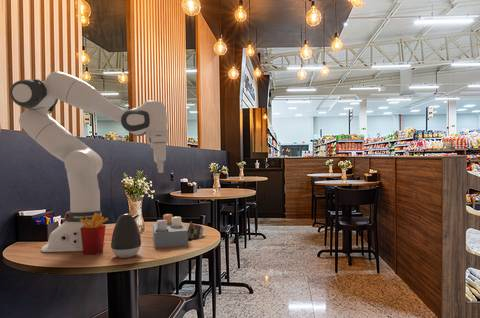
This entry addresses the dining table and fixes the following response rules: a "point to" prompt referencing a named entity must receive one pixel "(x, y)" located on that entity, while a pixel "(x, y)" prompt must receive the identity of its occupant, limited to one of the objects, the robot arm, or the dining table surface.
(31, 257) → the dining table surface
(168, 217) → the terracotta plunger
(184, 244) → the grey open box
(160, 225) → the grey plunger
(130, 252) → the dark grey egg shape
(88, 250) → the french fries
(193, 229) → the chocolate cake
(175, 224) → the cream plunger
